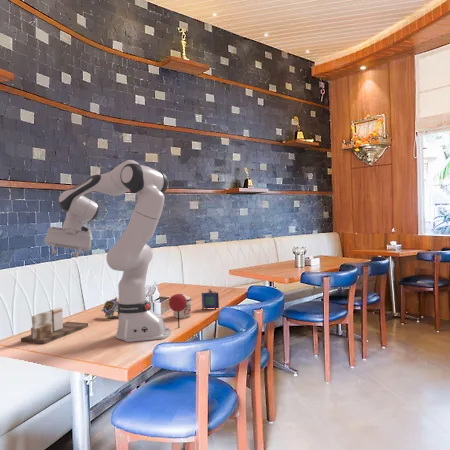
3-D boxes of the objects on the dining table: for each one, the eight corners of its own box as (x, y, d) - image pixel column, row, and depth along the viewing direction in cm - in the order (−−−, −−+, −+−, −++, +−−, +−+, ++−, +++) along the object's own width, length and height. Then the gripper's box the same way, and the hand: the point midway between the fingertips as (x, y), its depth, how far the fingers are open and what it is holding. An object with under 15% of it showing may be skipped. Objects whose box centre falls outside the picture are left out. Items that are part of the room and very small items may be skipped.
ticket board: (67, 324, 191) (66, 302, 190) (88, 326, 186) (87, 303, 186) (20, 341, 165) (19, 315, 165) (43, 344, 161) (42, 317, 161)
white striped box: (59, 327, 179) (58, 307, 179) (63, 328, 178) (62, 307, 178) (50, 330, 174) (49, 310, 174) (54, 331, 173) (53, 310, 173)
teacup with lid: (186, 319, 194) (185, 295, 194) (169, 318, 198) (169, 294, 197) (197, 313, 205) (196, 290, 205) (181, 312, 209) (180, 290, 209)
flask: (201, 309, 214) (200, 289, 214) (202, 308, 217) (202, 288, 217) (218, 309, 212) (217, 289, 212) (219, 308, 215) (219, 288, 215)
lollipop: (190, 326, 180) (189, 293, 180) (179, 330, 174) (178, 296, 174) (177, 324, 185) (176, 292, 185) (166, 328, 178) (165, 295, 178)
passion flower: (108, 329, 201) (95, 309, 202) (123, 320, 210) (110, 301, 211) (121, 318, 195) (106, 298, 197) (135, 310, 205) (121, 291, 206)
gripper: (48, 222, 185) (39, 248, 177) (94, 230, 189) (87, 255, 181) (49, 229, 190) (41, 255, 182) (93, 236, 194) (87, 262, 186)
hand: (64, 255), depth 182 cm, fingers open, 8 cm apart
